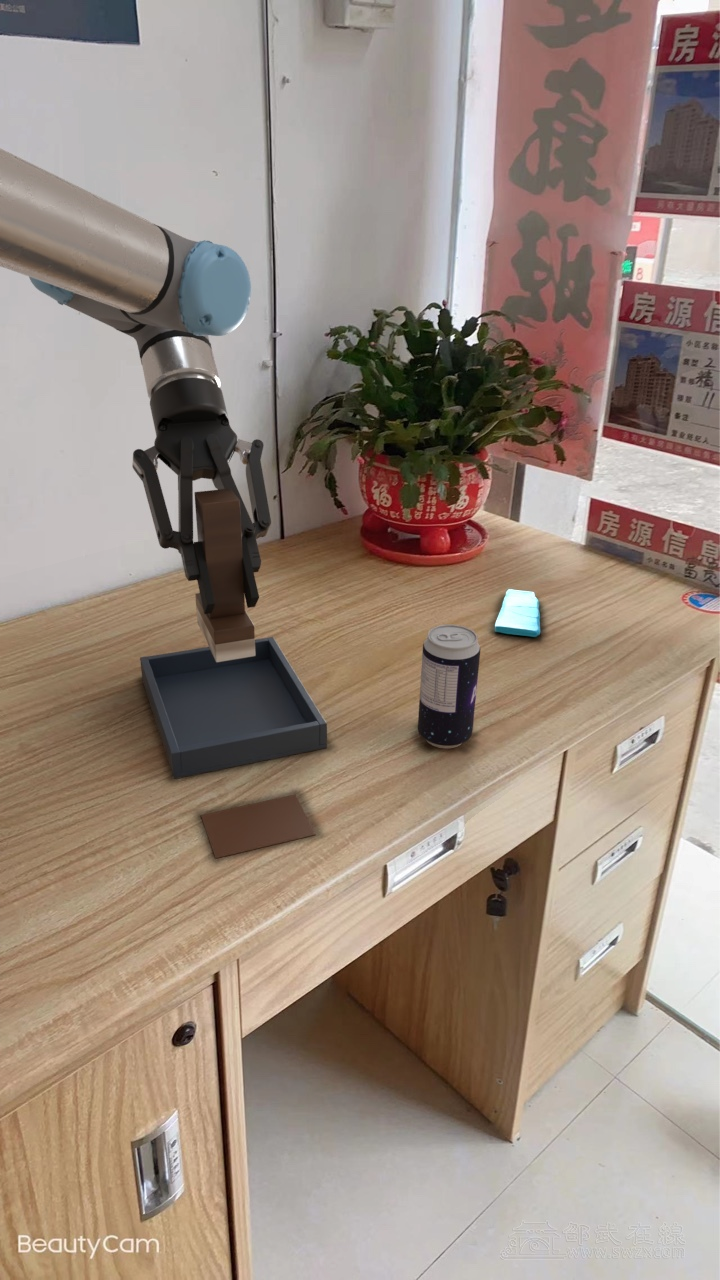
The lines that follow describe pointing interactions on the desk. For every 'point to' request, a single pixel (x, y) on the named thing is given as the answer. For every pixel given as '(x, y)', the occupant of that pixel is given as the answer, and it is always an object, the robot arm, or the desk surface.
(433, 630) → the beverage can
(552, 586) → the desk surface
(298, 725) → the tray
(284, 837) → the stain
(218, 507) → the brush
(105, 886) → the desk surface
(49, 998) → the desk surface
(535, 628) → the sponge
